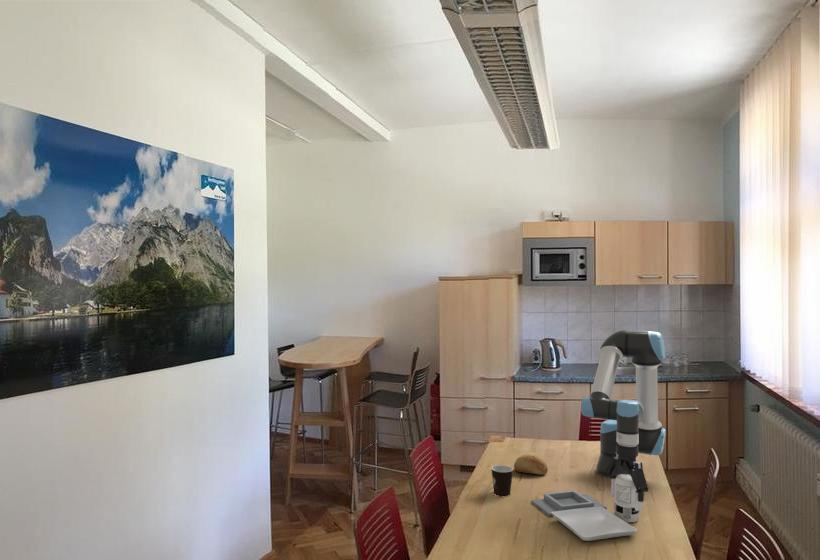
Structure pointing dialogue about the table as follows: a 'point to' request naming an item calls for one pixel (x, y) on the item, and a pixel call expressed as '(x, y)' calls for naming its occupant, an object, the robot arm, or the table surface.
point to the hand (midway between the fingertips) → (626, 503)
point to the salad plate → (593, 523)
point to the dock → (565, 502)
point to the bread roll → (530, 465)
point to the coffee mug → (502, 479)
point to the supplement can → (625, 498)
